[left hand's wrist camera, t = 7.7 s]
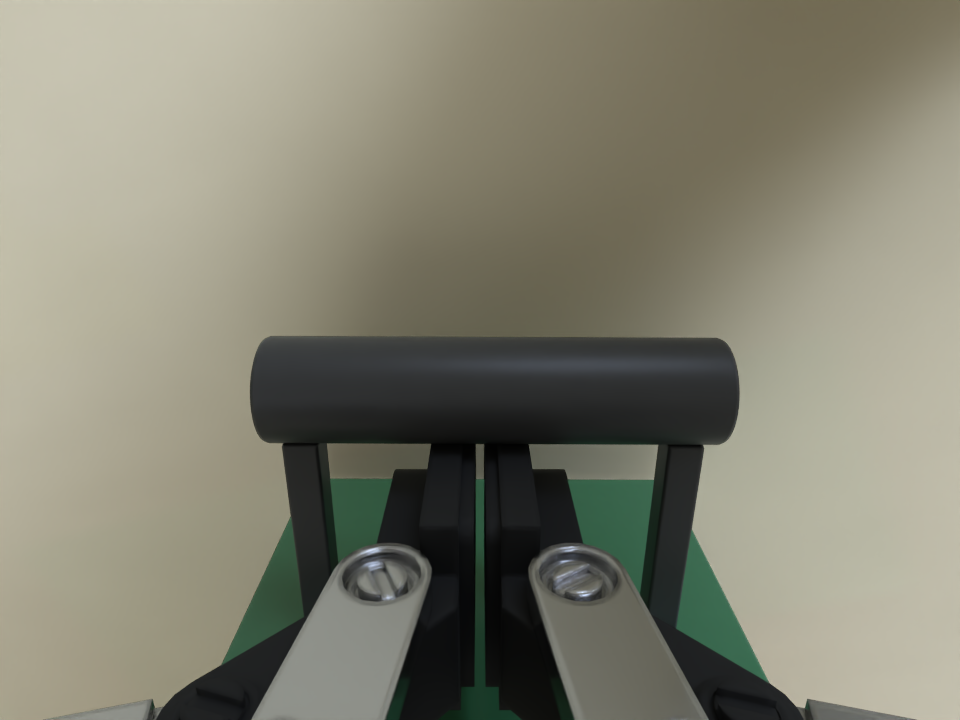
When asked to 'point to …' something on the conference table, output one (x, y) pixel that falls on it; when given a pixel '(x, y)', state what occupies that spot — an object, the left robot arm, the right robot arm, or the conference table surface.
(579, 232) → the conference table surface
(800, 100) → the conference table surface
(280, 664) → the left robot arm
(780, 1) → the conference table surface
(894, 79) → the conference table surface
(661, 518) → the drawer
